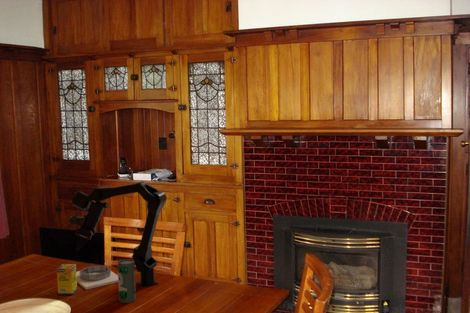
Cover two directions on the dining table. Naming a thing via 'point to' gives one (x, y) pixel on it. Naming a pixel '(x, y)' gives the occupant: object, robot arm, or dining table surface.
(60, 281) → the supplement box
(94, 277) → the metal duct collar
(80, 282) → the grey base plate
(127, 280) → the can
